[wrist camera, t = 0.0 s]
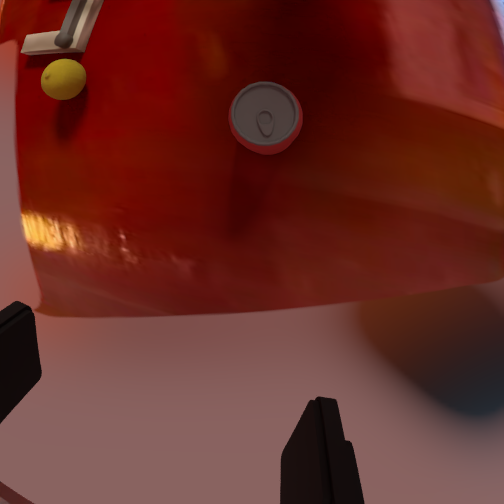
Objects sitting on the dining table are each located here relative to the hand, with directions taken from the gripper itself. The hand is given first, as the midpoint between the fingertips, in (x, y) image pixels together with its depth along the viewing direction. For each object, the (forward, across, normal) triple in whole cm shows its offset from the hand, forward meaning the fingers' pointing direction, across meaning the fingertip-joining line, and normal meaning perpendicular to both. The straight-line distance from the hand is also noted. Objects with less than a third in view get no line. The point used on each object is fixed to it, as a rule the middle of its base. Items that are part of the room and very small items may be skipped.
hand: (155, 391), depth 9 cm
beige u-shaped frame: (+31, +34, -26) cm, 53 cm away
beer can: (+31, 0, -11) cm, 33 cm away
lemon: (+31, +27, -13) cm, 43 cm away
